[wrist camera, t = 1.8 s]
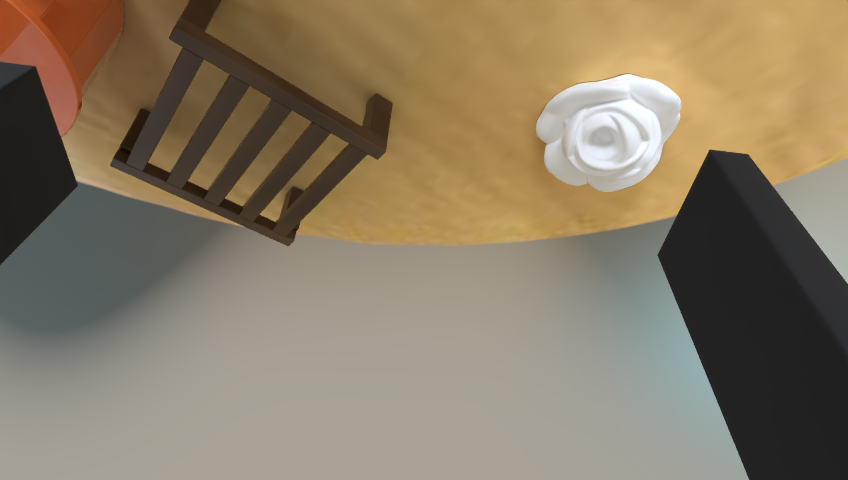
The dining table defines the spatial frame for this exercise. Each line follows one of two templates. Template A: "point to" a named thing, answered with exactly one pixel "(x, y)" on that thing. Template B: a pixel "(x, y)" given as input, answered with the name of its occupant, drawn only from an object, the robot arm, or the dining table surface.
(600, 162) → the rose
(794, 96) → the dining table surface
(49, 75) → the lid
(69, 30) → the pot
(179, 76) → the rack
